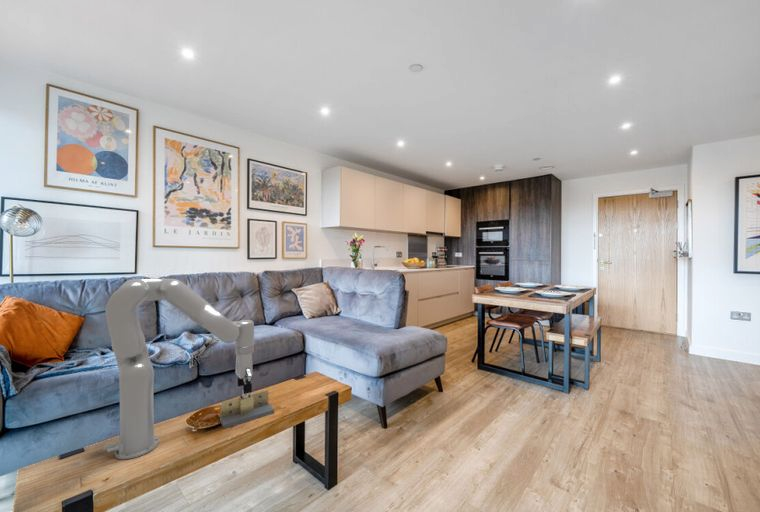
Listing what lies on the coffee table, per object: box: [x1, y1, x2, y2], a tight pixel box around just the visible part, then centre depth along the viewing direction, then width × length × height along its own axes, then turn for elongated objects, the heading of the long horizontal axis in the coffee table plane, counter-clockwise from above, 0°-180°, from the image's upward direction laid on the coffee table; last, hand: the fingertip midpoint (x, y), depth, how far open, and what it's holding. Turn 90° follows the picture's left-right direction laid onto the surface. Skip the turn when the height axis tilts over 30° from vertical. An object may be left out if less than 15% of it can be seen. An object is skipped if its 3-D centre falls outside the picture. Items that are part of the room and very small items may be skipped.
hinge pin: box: [242, 392, 249, 399], centre depth 137 cm, size 2×2×9 cm
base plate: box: [219, 402, 275, 429], centre depth 137 cm, size 20×14×2 cm
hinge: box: [220, 390, 269, 418], centre depth 137 cm, size 19×5×6 cm, turn 127°
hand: (244, 389), depth 137 cm, fingers open, 9 cm apart
